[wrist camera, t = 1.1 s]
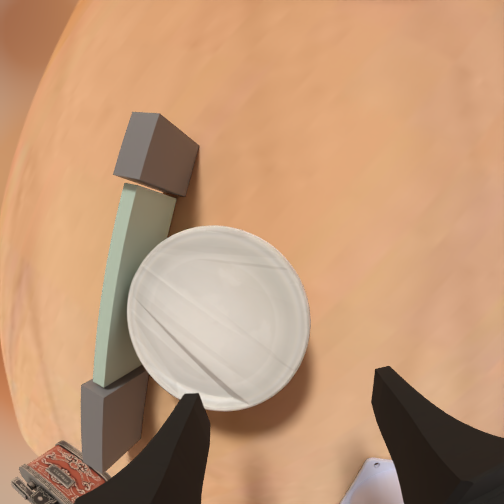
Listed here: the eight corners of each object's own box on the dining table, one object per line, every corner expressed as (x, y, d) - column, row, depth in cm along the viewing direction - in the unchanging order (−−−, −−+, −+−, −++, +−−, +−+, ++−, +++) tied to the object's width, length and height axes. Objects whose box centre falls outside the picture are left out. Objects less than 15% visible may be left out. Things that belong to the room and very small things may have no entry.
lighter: (114, 475, 25) (62, 524, 16) (111, 490, 26) (62, 536, 16) (60, 434, 27) (2, 470, 17) (59, 451, 27) (6, 486, 17)
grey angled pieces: (199, 145, 23) (159, 113, 17) (140, 438, 24) (102, 474, 18) (176, 142, 23) (132, 111, 17) (122, 429, 25) (82, 461, 18)
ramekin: (156, 360, 24) (121, 383, 19) (172, 221, 23) (135, 214, 18) (295, 394, 22) (287, 431, 16) (324, 243, 21) (326, 241, 16)
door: (176, 198, 23) (137, 185, 18) (143, 363, 24) (103, 387, 18) (156, 194, 23) (114, 180, 18) (125, 355, 24) (84, 376, 19)
